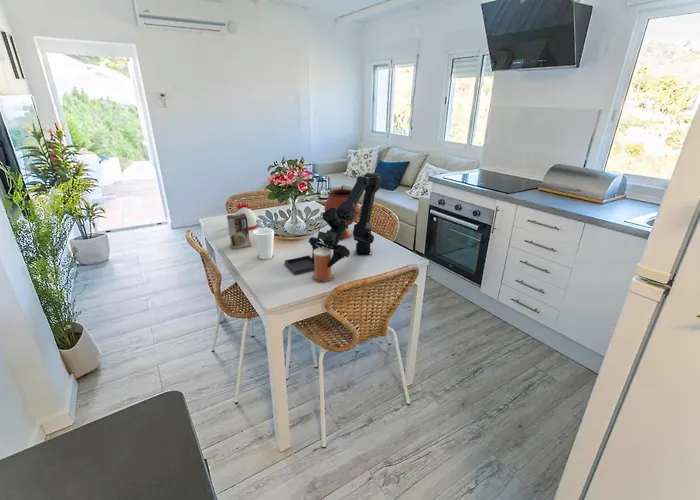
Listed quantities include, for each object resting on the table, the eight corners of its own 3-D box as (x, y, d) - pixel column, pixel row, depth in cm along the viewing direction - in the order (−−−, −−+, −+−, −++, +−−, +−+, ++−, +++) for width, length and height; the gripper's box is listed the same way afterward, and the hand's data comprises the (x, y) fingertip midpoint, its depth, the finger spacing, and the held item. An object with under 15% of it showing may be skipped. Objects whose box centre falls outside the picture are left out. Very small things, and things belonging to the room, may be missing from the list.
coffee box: (248, 242, 185) (245, 212, 178) (250, 246, 180) (247, 216, 173) (230, 244, 181) (226, 215, 175) (232, 249, 176) (228, 218, 169)
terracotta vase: (331, 228, 206) (331, 186, 197) (362, 231, 202) (364, 189, 192) (320, 239, 190) (319, 194, 180) (354, 243, 185) (355, 197, 175)
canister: (326, 271, 154) (326, 246, 149) (334, 278, 148) (334, 252, 143) (311, 274, 150) (310, 249, 146) (318, 282, 145) (318, 255, 140)
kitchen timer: (234, 223, 212) (231, 199, 206) (258, 221, 215) (255, 198, 209) (233, 231, 199) (230, 205, 193) (258, 229, 202) (255, 204, 196)
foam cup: (265, 262, 163) (263, 236, 157) (251, 257, 167) (248, 232, 162) (279, 255, 170) (277, 230, 165) (265, 251, 174) (263, 226, 169)
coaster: (331, 273, 154) (331, 271, 153) (332, 281, 146) (332, 280, 146) (313, 273, 153) (313, 272, 153) (313, 282, 145) (313, 281, 145)
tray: (309, 258, 167) (309, 255, 166) (320, 268, 157) (320, 265, 156) (284, 264, 161) (284, 260, 160) (294, 274, 152) (294, 271, 151)
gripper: (310, 219, 148) (293, 251, 144) (346, 228, 138) (329, 262, 134) (322, 231, 157) (306, 261, 153) (356, 240, 147) (341, 273, 143)
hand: (320, 264), depth 146 cm, fingers open, 8 cm apart
